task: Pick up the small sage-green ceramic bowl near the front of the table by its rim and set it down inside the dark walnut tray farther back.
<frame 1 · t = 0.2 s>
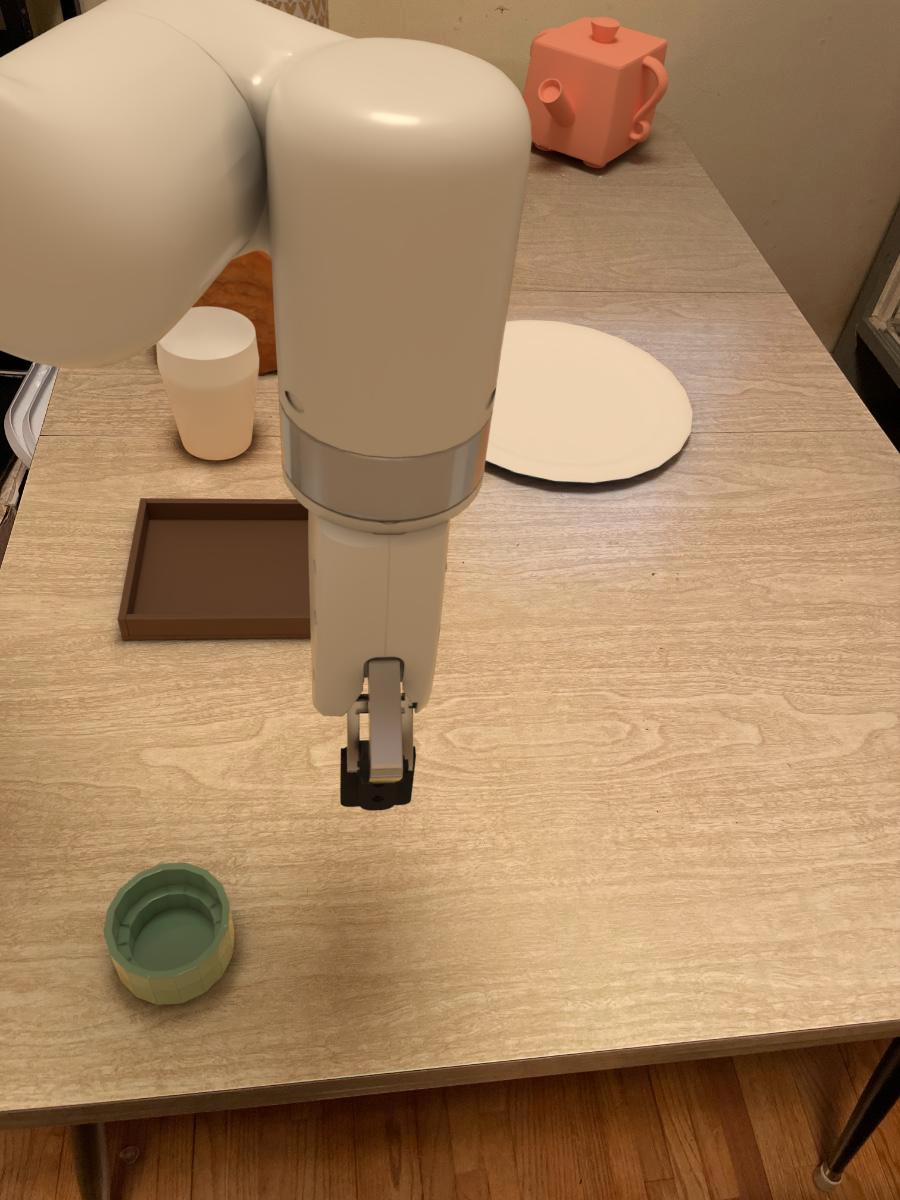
hand: (371, 714, 47), 21 cm above the table, tool pointing down, fingers open, 9 cm apart
plate: (554, 406, 104), on the table
vase: (285, 138, 144), on the table
bread: (230, 310, 111), on the table
teapot: (571, 154, 150), on the table
mug: (369, 190, 135), on the table
tray: (238, 575, 82), on the table
bowl: (176, 949, 60), on the table
cup: (217, 441, 94), on the table
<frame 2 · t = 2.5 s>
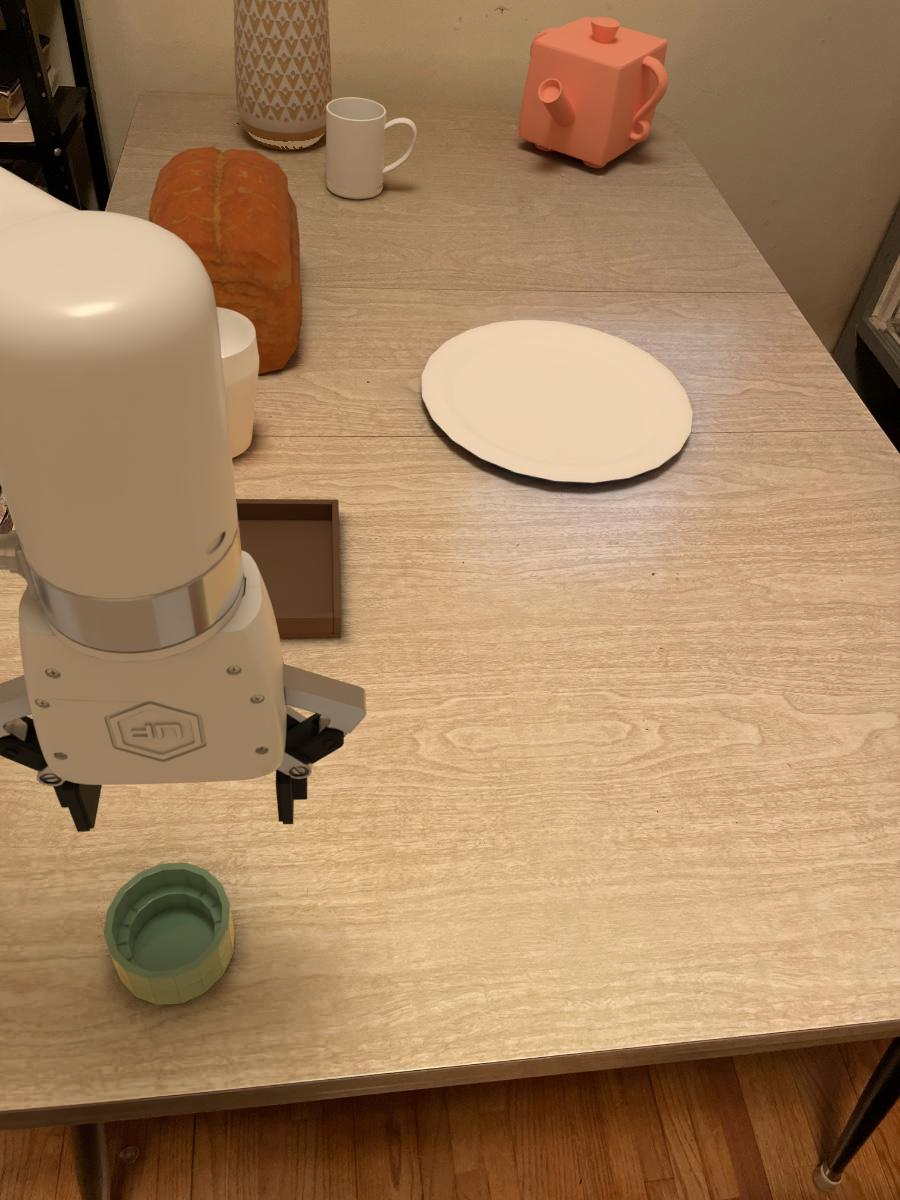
hand: (190, 802, 48), 17 cm above the table, tool pointing down, fingers open, 9 cm apart
nothing on the table moved.
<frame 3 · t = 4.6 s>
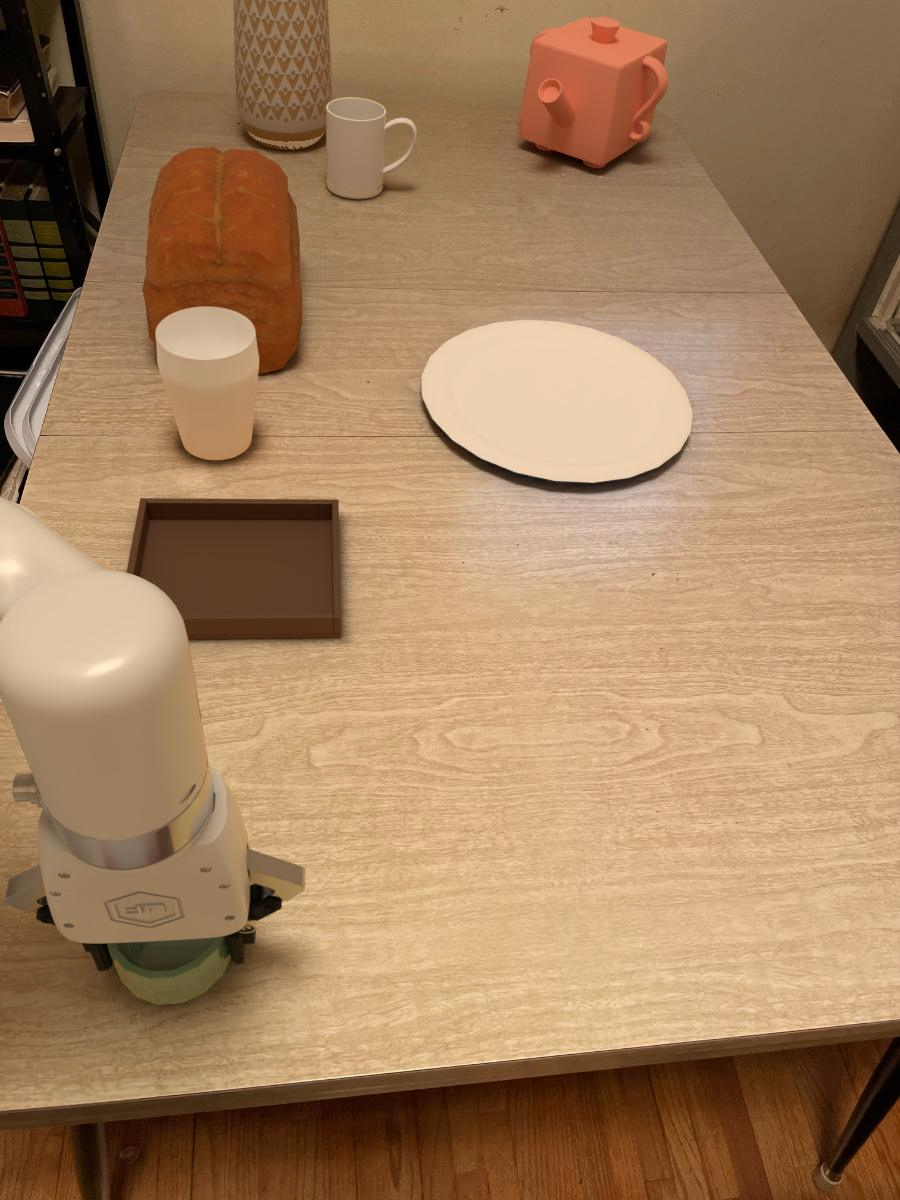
hand: (174, 942, 59), 1 cm above the table, tool pointing down, fingers closed on bowl, 7 cm apart
bowl: (176, 949, 60), on the table, touching gripper
everything else where it was.
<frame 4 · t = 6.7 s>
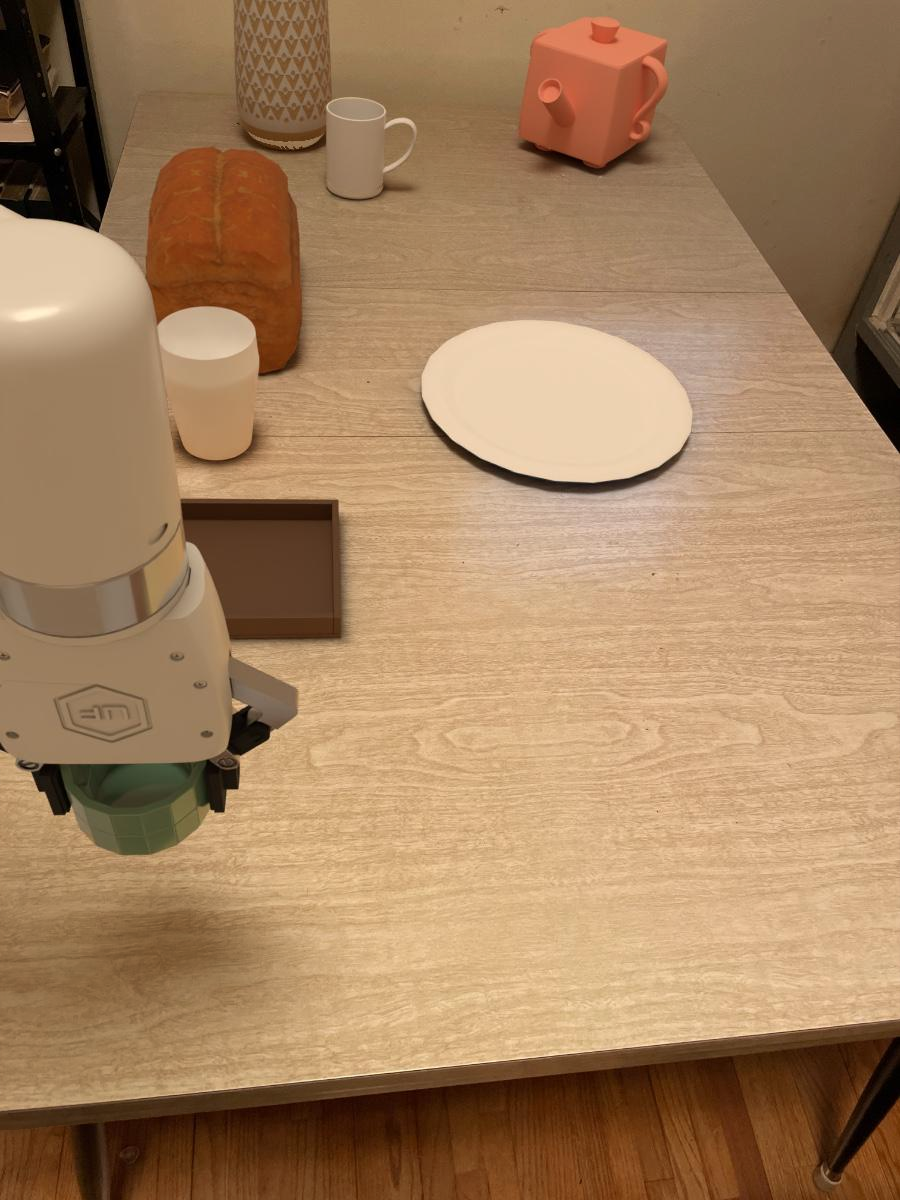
hand: (144, 788, 51), 15 cm above the table, tool pointing down, fingers closed on bowl, 7 cm apart
bowl: (146, 799, 51), point 14 cm above the table, touching gripper
everything else where it was.
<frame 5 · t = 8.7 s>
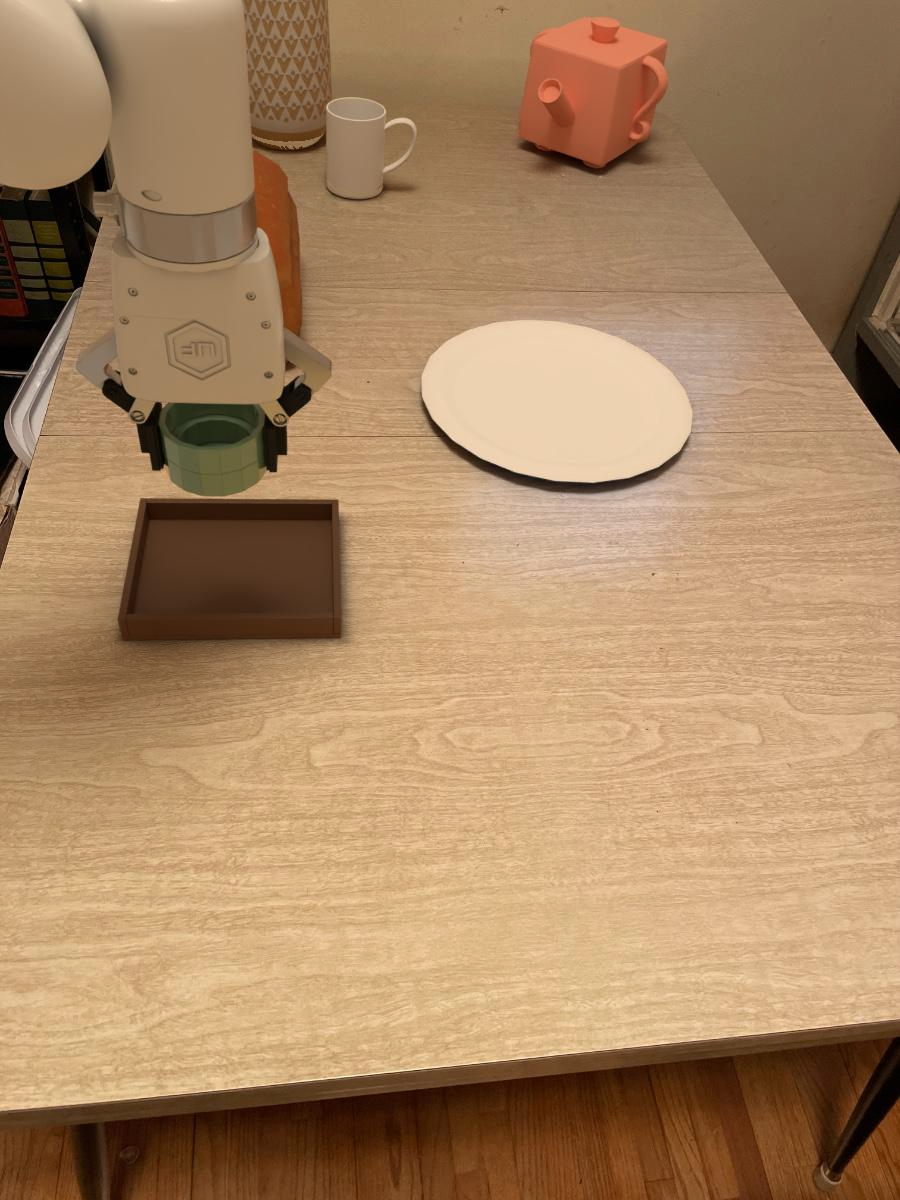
hand: (216, 457, 68), 16 cm above the table, tool pointing down, fingers closed on bowl, 7 cm apart
bowl: (218, 469, 69), point 15 cm above the table, touching gripper
everything else where it was.
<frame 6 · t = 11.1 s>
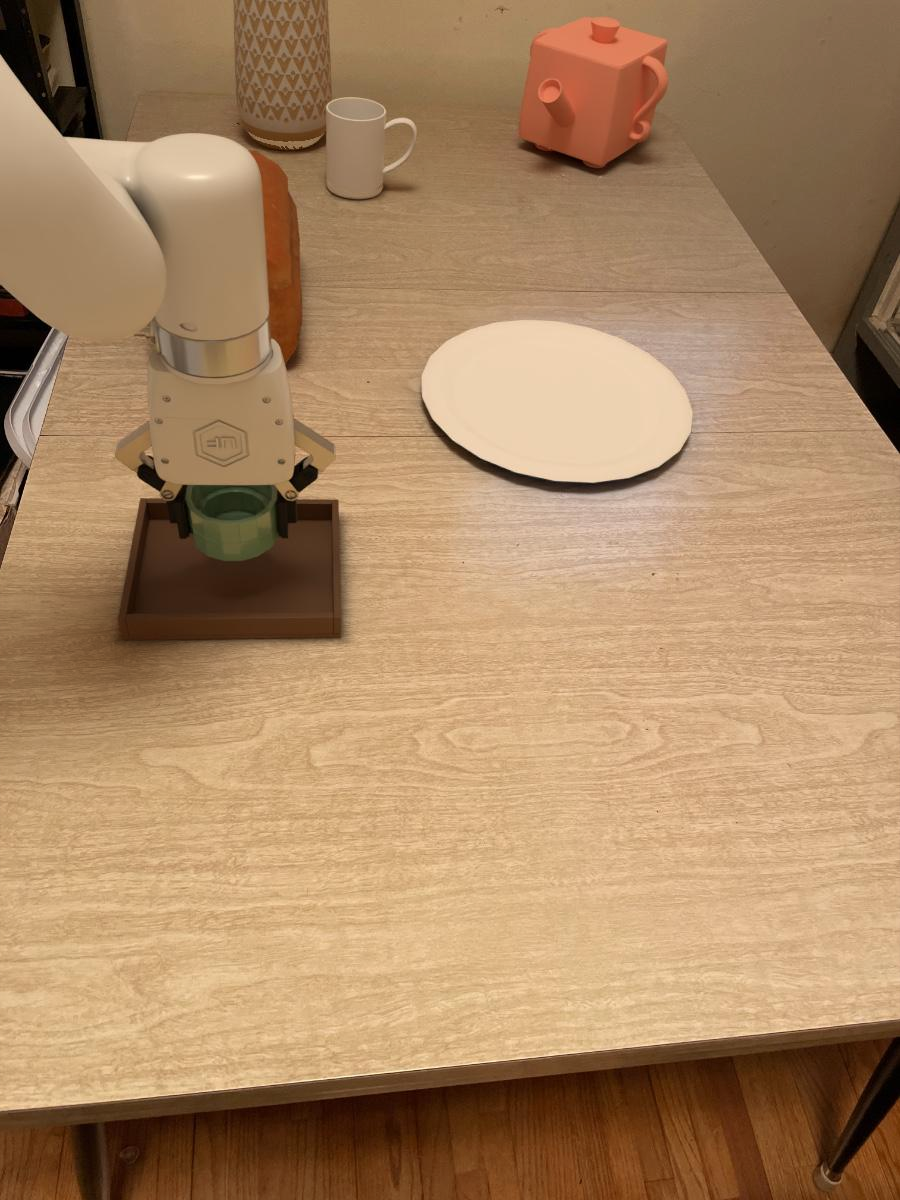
hand: (235, 525, 78), 6 cm above the table, tool pointing down, fingers closed on bowl, 7 cm apart
bowl: (236, 534, 79), point 5 cm above the table, touching gripper
everything else where it was.
when the fingers open (2 cm above the table, at t = 12.8 s): bowl stays where it is, resting on tray.
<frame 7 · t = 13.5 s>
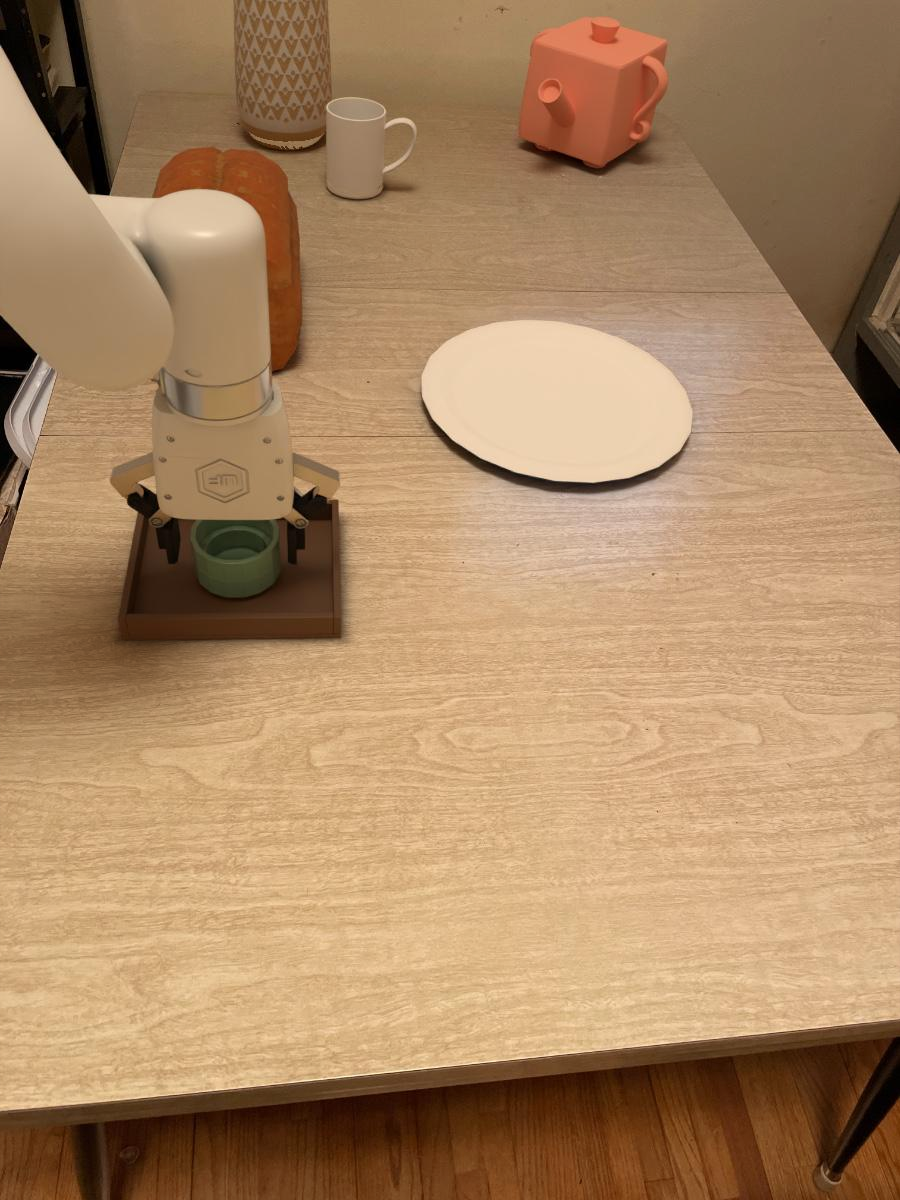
hand: (234, 552, 80), 3 cm above the table, tool pointing down, fingers open, 9 cm apart
bowl: (238, 571, 82), resting on tray
everything else where it was.
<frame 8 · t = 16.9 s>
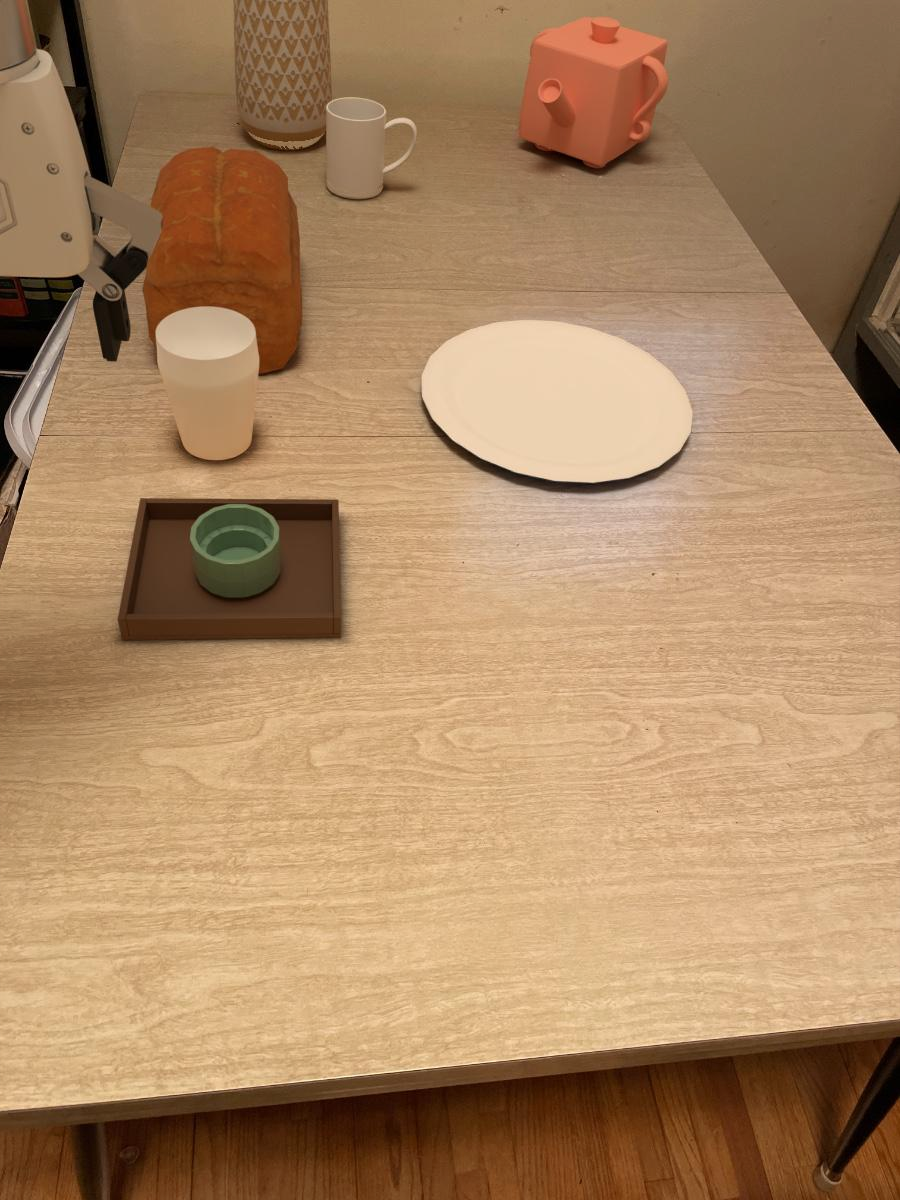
hand: (30, 346, 57), 26 cm above the table, tool pointing down, fingers open, 9 cm apart
nothing on the table moved.
at the end: bowl inside the target area in the tray (0.1 cm from its centre), point 0.5 cm above the tray's base; bowl tilted 0°; the gripper is holding nothing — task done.
